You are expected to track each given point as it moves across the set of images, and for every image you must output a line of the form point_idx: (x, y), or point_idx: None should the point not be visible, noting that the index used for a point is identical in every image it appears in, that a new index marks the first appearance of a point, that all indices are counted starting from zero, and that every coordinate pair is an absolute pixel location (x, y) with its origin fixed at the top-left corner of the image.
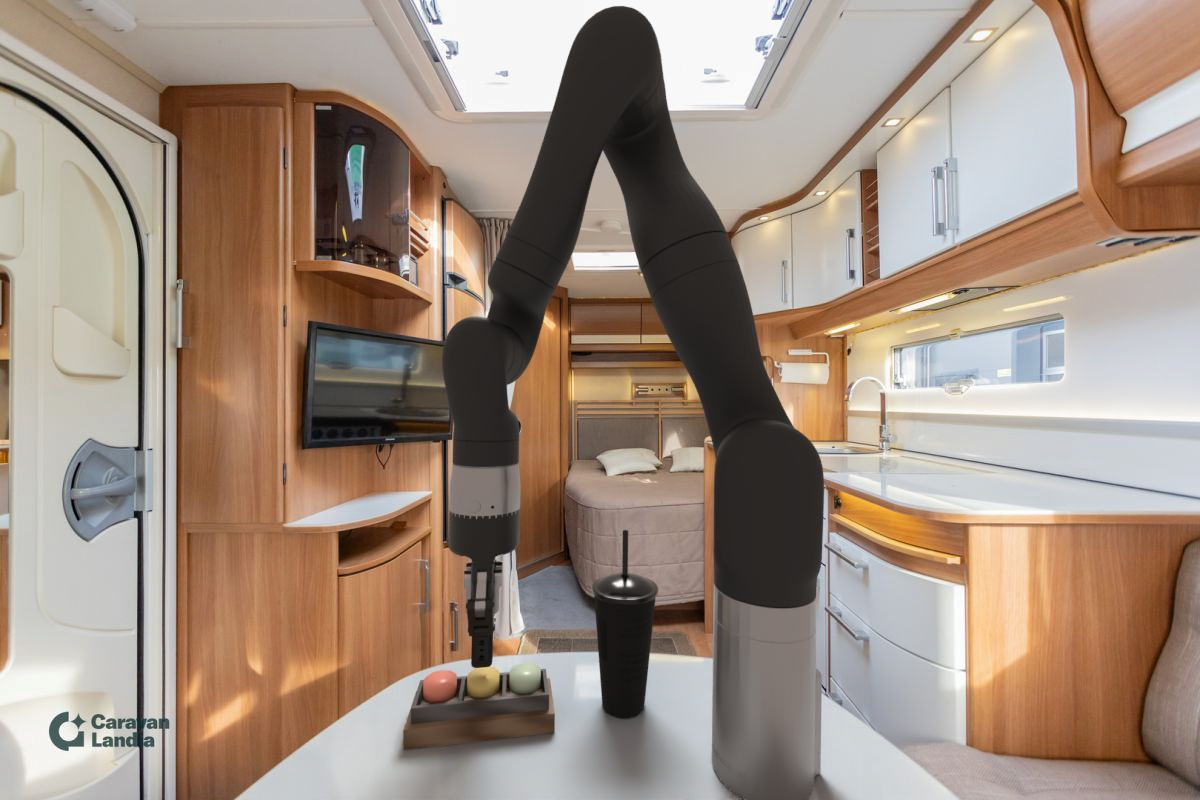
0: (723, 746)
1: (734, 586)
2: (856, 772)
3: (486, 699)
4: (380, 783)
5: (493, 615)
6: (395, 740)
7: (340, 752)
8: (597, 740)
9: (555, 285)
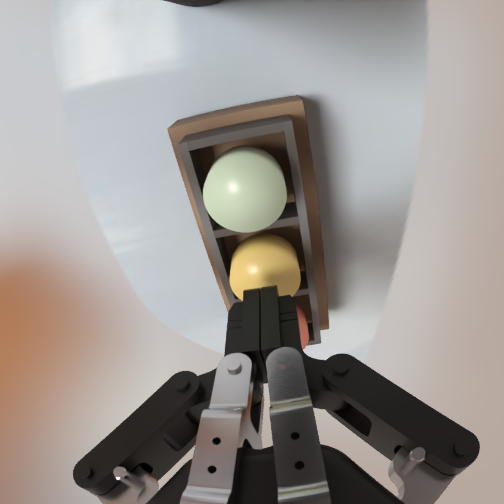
0: None
1: None
2: None
3: (306, 250)
4: (374, 309)
5: (365, 407)
6: None
7: (319, 357)
8: (317, 14)
9: None
